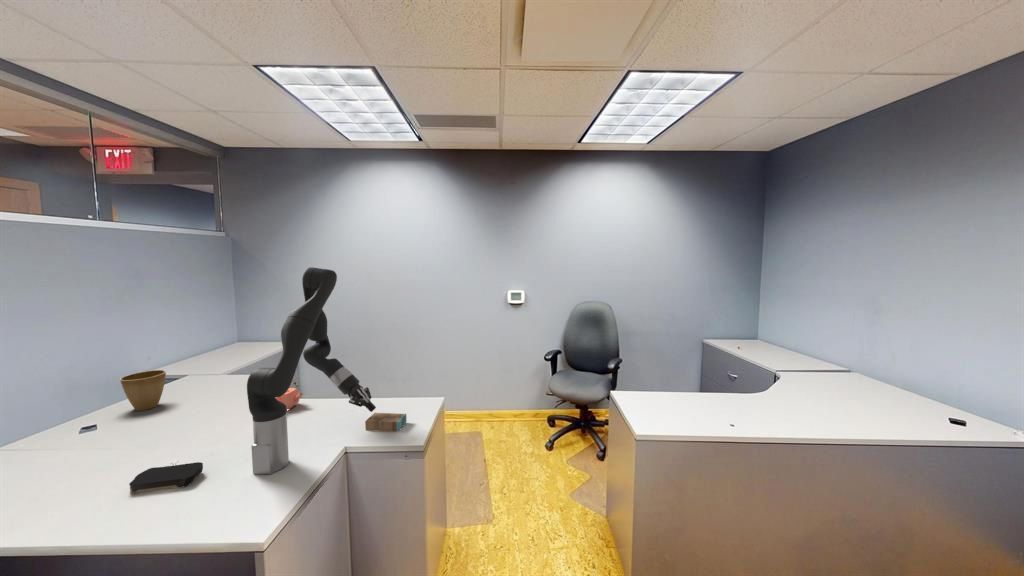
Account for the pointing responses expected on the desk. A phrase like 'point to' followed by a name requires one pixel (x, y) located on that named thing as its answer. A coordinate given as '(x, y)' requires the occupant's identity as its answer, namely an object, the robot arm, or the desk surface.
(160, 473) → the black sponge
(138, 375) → the plant pot
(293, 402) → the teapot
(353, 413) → the desk surface
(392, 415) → the walnut block
